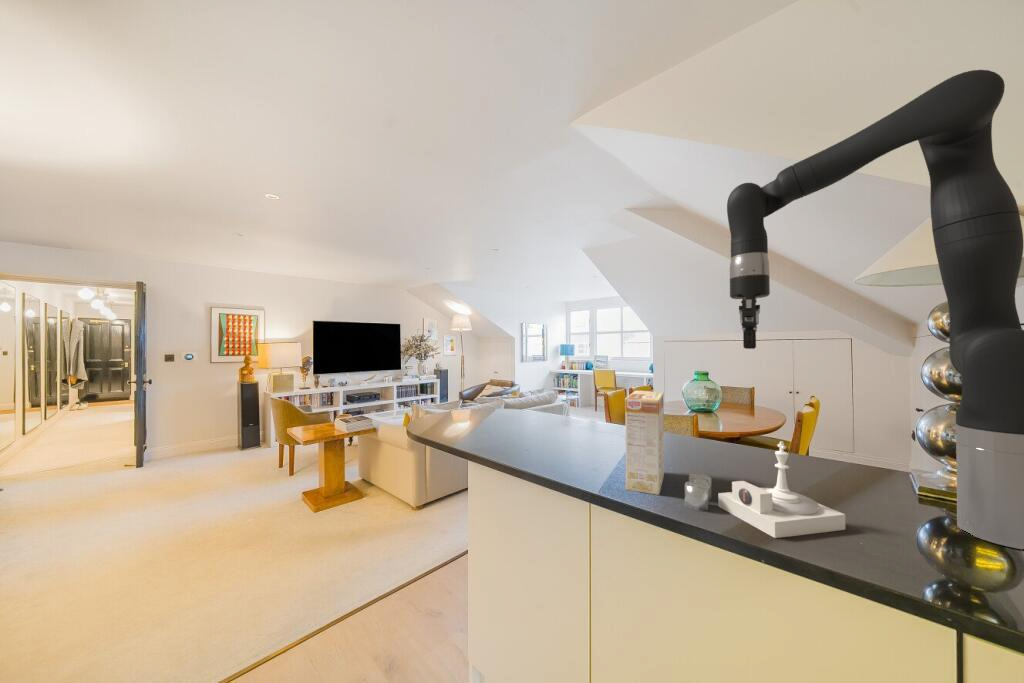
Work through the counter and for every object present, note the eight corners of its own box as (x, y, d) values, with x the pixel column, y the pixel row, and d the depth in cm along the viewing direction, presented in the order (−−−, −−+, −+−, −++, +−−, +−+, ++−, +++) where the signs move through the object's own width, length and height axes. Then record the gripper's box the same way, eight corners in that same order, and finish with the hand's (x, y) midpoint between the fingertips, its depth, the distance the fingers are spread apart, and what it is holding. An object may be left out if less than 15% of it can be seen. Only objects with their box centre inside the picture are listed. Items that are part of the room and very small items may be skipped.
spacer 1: (701, 492, 78) (701, 472, 78) (715, 499, 74) (715, 479, 75) (684, 493, 78) (684, 474, 78) (698, 501, 74) (698, 480, 74)
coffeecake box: (634, 469, 93) (634, 390, 93) (665, 473, 90) (665, 391, 90) (623, 489, 79) (623, 397, 80) (659, 495, 76) (659, 399, 77)
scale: (779, 500, 74) (779, 471, 74) (845, 529, 62) (845, 495, 62) (718, 506, 71) (718, 476, 71) (774, 538, 59) (774, 501, 59)
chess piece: (788, 493, 69) (787, 438, 69) (806, 504, 64) (805, 445, 65) (759, 491, 70) (759, 437, 70) (775, 502, 65) (775, 444, 65)
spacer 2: (698, 501, 74) (698, 480, 74) (713, 510, 70) (713, 488, 70) (680, 503, 73) (680, 482, 73) (694, 511, 69) (694, 490, 69)
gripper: (770, 268, 76) (771, 348, 76) (768, 279, 88) (769, 348, 88) (727, 272, 80) (728, 348, 80) (731, 282, 92) (732, 348, 92)
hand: (749, 348), depth 84 cm, fingers open, 8 cm apart
